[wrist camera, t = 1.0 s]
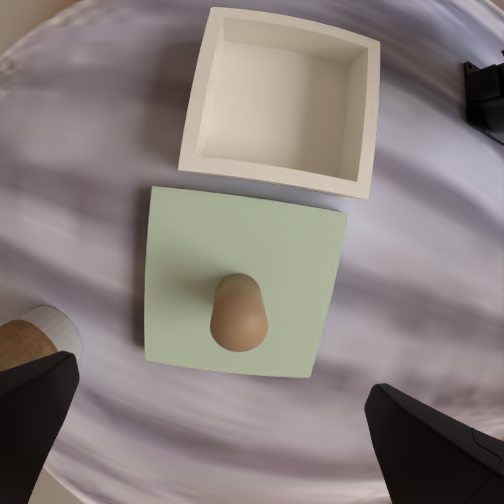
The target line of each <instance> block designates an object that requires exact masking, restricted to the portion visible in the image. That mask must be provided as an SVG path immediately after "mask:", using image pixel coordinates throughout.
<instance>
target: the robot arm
mask: <svg viewBox="0 0 504 504" xmlns="http://www.w3.org/2000/svg"><path fill="white" fill-rule="evenodd" d="M501 52H502V54H503V56H504V50H503V51H501ZM464 73H465V85H466V106H467V121H468V123H469V124H470V125H471V126H473V127H474V128H476V129H478V130H480V131H481V132H483V133H485V134H486V135H488V136H490V137H491V138H493V139H495V140H496V141H498V142H499V143H501V144H502V145H504V63H502V64H499V65H495V64H493V65H491V66H488V67H485V68H482V69H479V68H478V67H476V66H475V65H473V64H472V63H470V62H465V63H464ZM471 118H472V119H471ZM78 383H79V371H78V365H77V360H76V356H75V355H74V354H73V353H71V352H68V351H64V350H62V351H59V352H56V353H53V354H51V355H48V356H45V357H42V358H39V359H36V360H33V361H30V362H27V363H24V364H21V365H18V366H16V367H13V368H10V369H7V370H4V371H0V504H28V502H29V499H30V496H31V494H32V491H33V489H34V486H35V484H36V481H37V479H38V477H39V474H40V472H41V470H42V467H43V465H44V463H45V461H46V458H47V456H48V454H49V452H50V450H51V447H52V445H53V443H54V441H55V439H56V437H57V435H58V433H59V431H60V429H61V427H62V425H63V422H64V420H65V418H66V415H67V412H68V410H69V407H70V404H71V402H72V399H73V396H74V394H75V391H76V388H77V386H78ZM365 414H366V418H367V423H368V427H369V431H370V435H371V440H372V444H373V448H374V451H375V454H376V457H377V460H378V462H379V465H380V468H381V471H382V474H383V477H384V480H385V483H386V486H387V489H388V492H389V495H390V498H391V501H392V504H504V441H501V440H499V439H497V438H494V437H491V436H489V435H487V434H485V433H482V432H480V431H478V430H476V429H474V428H472V427H469V426H467V425H465V424H463V423H461V422H459V421H457V420H455V419H453V418H451V417H449V416H447V415H445V414H443V413H441V412H439V411H437V410H435V409H433V408H432V407H430V406H428V405H426V404H424V403H422V402H420V401H418V400H416V399H414V398H412V397H411V396H409V395H407V394H405V393H403V392H401V391H399V390H398V389H396V388H394V387H392V386H390V385H388V384H386V383H382V384H375V385H374V386H373V387H372V389H371V391H370V394H369V396H368V398H367V401H366V403H365Z"/></svg>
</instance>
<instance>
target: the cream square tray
mask: <svg viewBox="0 0 504 504" xmlns="http://www.w3.org/2000/svg"><path fill="white" fill-rule="evenodd" d="M379 85H380V42H379V41H377V40H374V39H371V38H368V37H365V36H362V35H359V34H356V33H353V32H350V31H347V30H344V29H340V28H337V27H333V26H330V25H326V24H322V23H318V22H314V21H310V20H305V19H301V18H296V17H291V16H286V15H280V14H274V13H268V12H261V11H253V10H245V9H234V8H221V7H211V10H210V14H209V18H208V21H207V25H206V29H205V33H204V36H203V40H202V45H201V49H200V53H199V57H198V61H197V66H196V70H195V75H194V80H193V84H192V89H191V94H190V99H189V104H188V110H187V115H186V121H185V127H184V133H183V139H182V145H181V151H180V158H179V165H178V170H179V171H183V172H186V173H189V174H198V175H207V176H215V177H223V178H231V179H239V180H246V181H253V182H260V183H267V184H274V185H280V186H286V187H292V188H298V189H304V190H310V191H315V192H321V193H326V194H331V195H337V196H342V197H350V198H358V199H366V200H368V197H369V190H370V183H371V176H372V168H373V160H374V151H375V142H376V131H377V119H378V104H379Z"/></svg>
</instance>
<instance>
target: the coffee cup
mask: <svg viewBox="0 0 504 504" xmlns="http://www.w3.org/2000/svg"><path fill="white" fill-rule="evenodd" d="M62 350H64V351H68V352H71V353H73V354H74V355H75V356H76V360H77V364H78V362H79V360H80V358H81V355H82V343H81V339H80V336H79V334H78V332H77V330H76V328H75V327H74V325H73V323H72V322H71V321H70V320H69V319H68V318H67V317H66V316H65V315H64V314H63V313H62V312H60V311H59V310H57V309H55V308H53V307H49V306H40V307H37V308H35V309H33V310H31V311H30V312H28V313H26V314H24V315H22V316H21V317H19V318H17V319H15V320H13V321H10V322H9V323H7V324H5V325H3V326H1V327H0V371H4V370H7V369H10V368H13V367H16V366H18V365H21V364H24V363H27V362H30V361H33V360H36V359H39V358H42V357H45V356H48V355H51V354H53V353H56V352H59V351H62Z"/></svg>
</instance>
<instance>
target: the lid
mask: <svg viewBox="0 0 504 504" xmlns="http://www.w3.org/2000/svg"><path fill="white" fill-rule="evenodd" d="M347 216H348V213H344V212H340V211H334V210H329V209H323V208H317V207H311V206H305V205H299V204H293V203H287V202H280V201H273V200H267V199H260V198H253V197H246V196H238V195H231V194H223V193H215V192H206V191H198V190H189V189H179V188H170V187H159V186H152V192H151V201H150V211H149V222H148V235H147V249H146V268H145V299H144V338H145V360H147V361H152V362H158V363H163V364H169V365H175V366H182V367H188V368H195V369H202V370H210V371H219V372H228V373H237V374H248V375H261V376H277V377H299V378H310V375H311V372H312V369H313V365H314V362H315V358H316V355H317V351H318V347H319V344H320V340H321V336H322V333H323V329H324V325H325V321H326V317H327V313H328V309H329V305H330V300H331V296H332V292H333V287H334V283H335V278H336V274H337V269H338V264H339V259H340V254H341V249H342V244H343V239H344V233H345V228H346V222H347Z"/></svg>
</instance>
